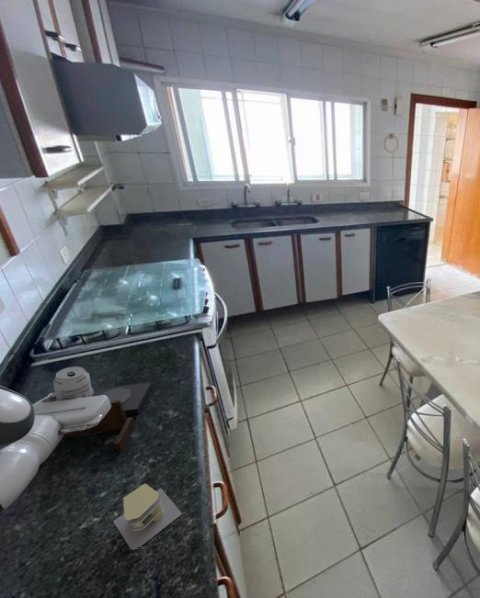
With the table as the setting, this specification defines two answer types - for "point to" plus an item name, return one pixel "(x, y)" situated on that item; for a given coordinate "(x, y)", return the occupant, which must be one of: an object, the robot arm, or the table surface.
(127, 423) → the brown wooden stand
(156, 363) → the table surface
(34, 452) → the robot arm
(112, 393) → the stove
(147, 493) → the stacked layers on plate
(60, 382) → the energy drink can
